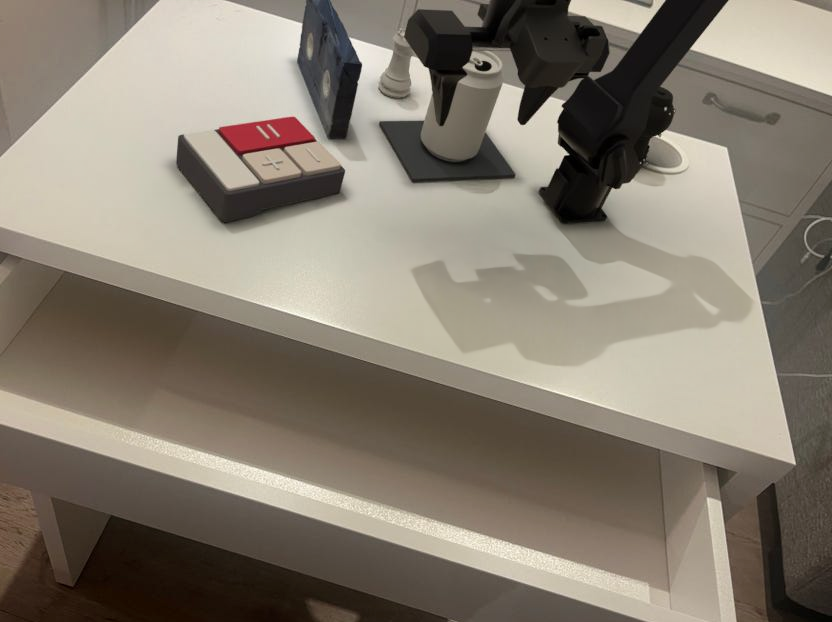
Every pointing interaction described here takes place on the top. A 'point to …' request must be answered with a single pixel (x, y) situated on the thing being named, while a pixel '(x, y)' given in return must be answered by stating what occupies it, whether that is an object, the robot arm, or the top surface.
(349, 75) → the vhs cassette tape
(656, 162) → the top surface
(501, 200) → the top surface
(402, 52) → the rook chess piece
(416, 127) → the mat
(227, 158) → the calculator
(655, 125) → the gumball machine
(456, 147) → the can
